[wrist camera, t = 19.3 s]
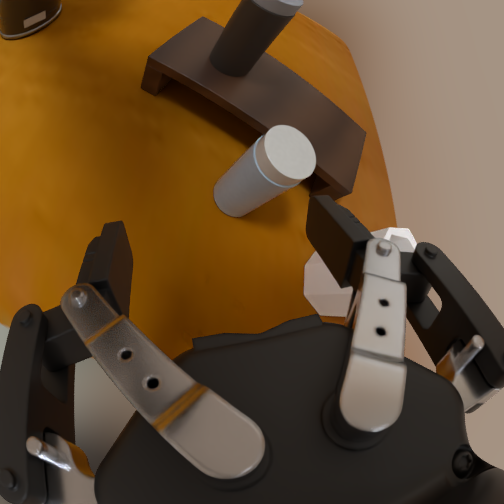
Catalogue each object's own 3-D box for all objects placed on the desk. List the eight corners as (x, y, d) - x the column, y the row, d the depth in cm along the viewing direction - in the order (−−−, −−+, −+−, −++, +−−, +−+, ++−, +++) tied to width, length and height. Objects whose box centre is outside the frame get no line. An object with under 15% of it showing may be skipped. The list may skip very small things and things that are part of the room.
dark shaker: (201, 61, 22) (246, -18, 13) (222, 42, 24) (267, -27, 15) (239, 83, 24) (295, 12, 15) (256, 63, 25) (310, -1, 16)
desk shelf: (140, 88, 24) (148, 56, 20) (189, 44, 28) (202, 16, 23) (321, 205, 32) (351, 193, 28) (340, 147, 35) (366, 132, 31)
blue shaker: (205, 201, 26) (252, 154, 17) (225, 166, 27) (277, 112, 19) (244, 225, 27) (306, 193, 19) (261, 190, 29) (323, 148, 20)
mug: (292, 302, 29) (364, 302, 20) (316, 228, 31) (384, 206, 22) (365, 335, 33) (431, 340, 24) (380, 272, 35) (443, 264, 27)
